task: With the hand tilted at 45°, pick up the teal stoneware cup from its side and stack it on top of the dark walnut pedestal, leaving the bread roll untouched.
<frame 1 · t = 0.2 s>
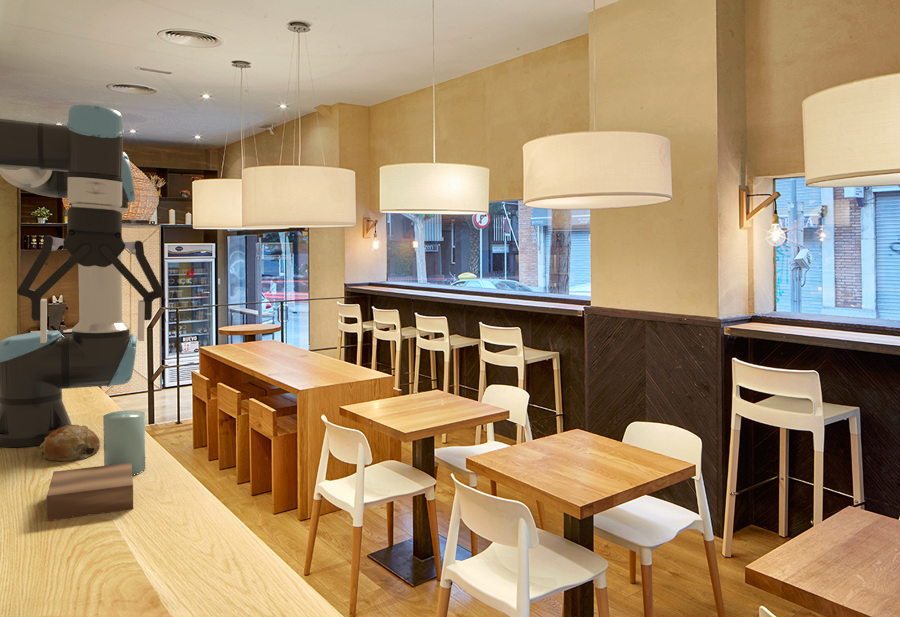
hand: (93, 340, 101), 28 cm above the table, tool pointing down, fingers open, 13 cm apart
cup: (125, 471, 121), on the table
pedestal: (92, 501, 106), on the table
bread roll: (69, 456, 130), on the table
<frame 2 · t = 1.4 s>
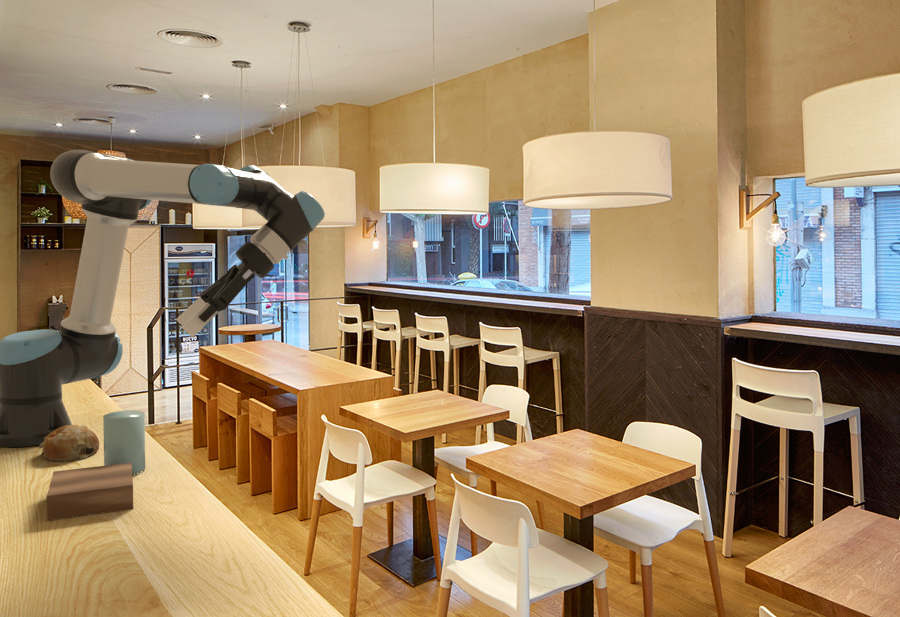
hand: (183, 328, 123), 27 cm above the table, tool tilted 45°, fingers open, 13 cm apart
nothing on the table moved.
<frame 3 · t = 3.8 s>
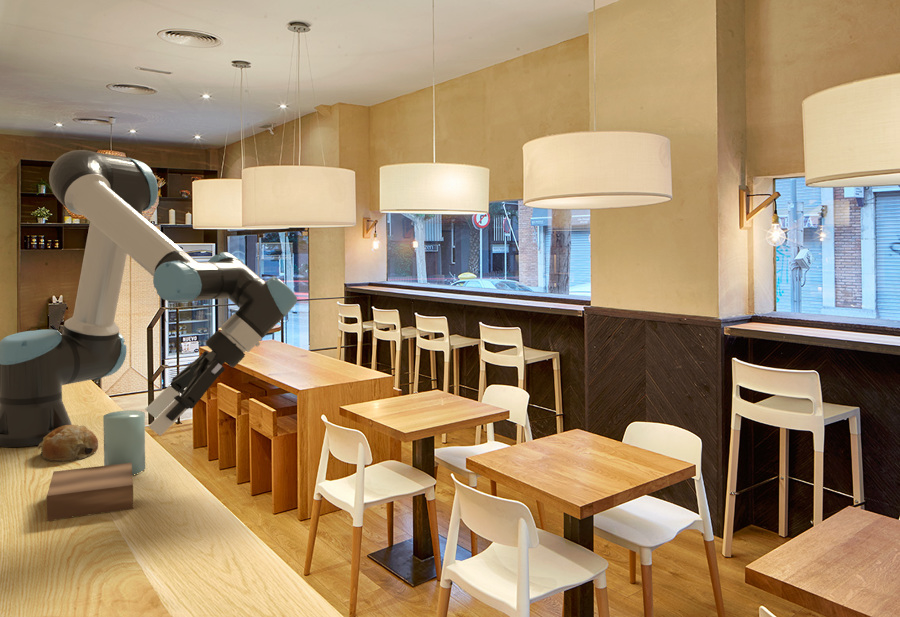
hand: (152, 422, 122), 9 cm above the table, tool tilted 45°, fingers open, 13 cm apart
nothing on the table moved.
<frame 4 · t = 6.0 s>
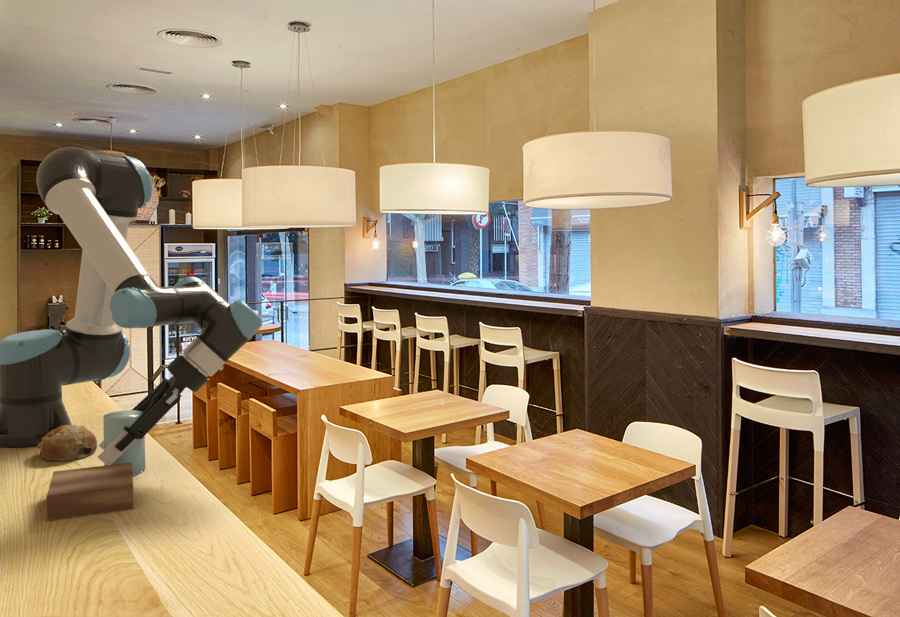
hand: (104, 455, 119), 4 cm above the table, tool tilted 45°, fingers closed on cup, 7 cm apart
cup: (125, 470, 121), on the table, touching gripper
everything else where it was.
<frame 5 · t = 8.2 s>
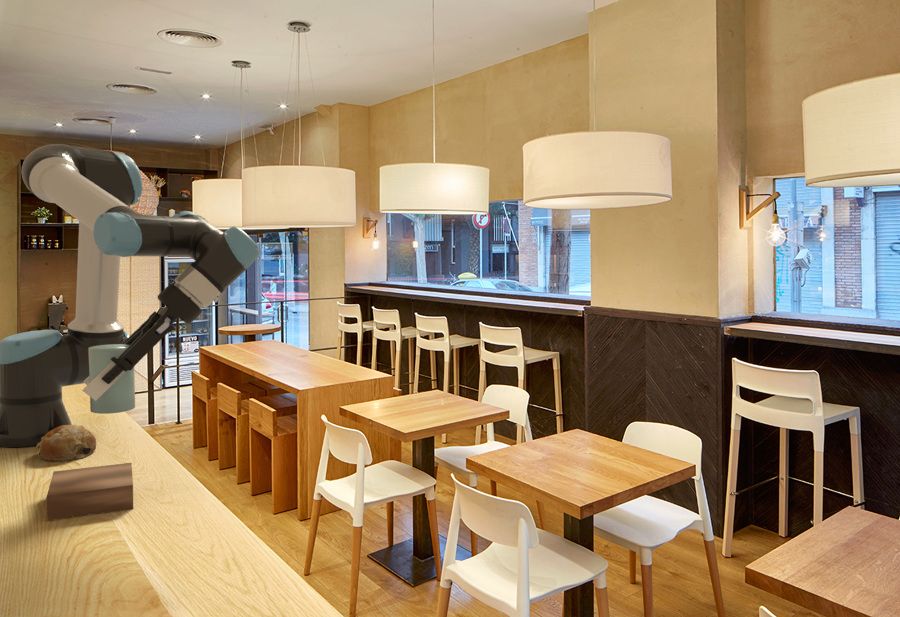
hand: (89, 390, 109), 18 cm above the table, tool tilted 45°, fingers closed on cup, 7 cm apart
cup: (113, 408, 112), point 14 cm above the table, touching gripper
everything else where it was.
when the fingers open (9 cm above the table, at t = 10.6 s): cup drops 1 cm, resting on pedestal.
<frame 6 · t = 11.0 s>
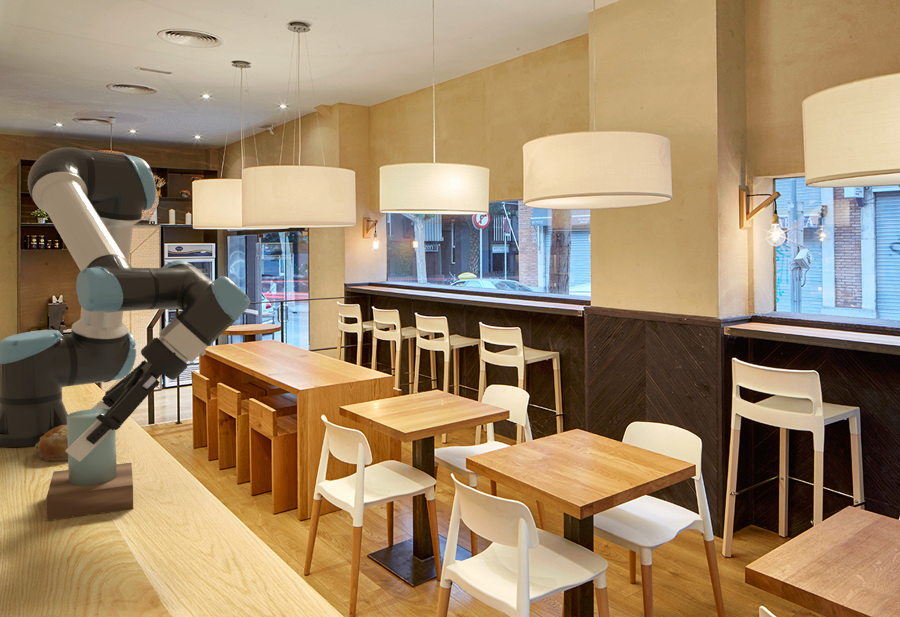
hand: (74, 444, 104), 10 cm above the table, tool tilted 45°, fingers open, 13 cm apart
cup: (93, 478, 106), point 4 cm above the table, touching pedestal
everything else where it was.
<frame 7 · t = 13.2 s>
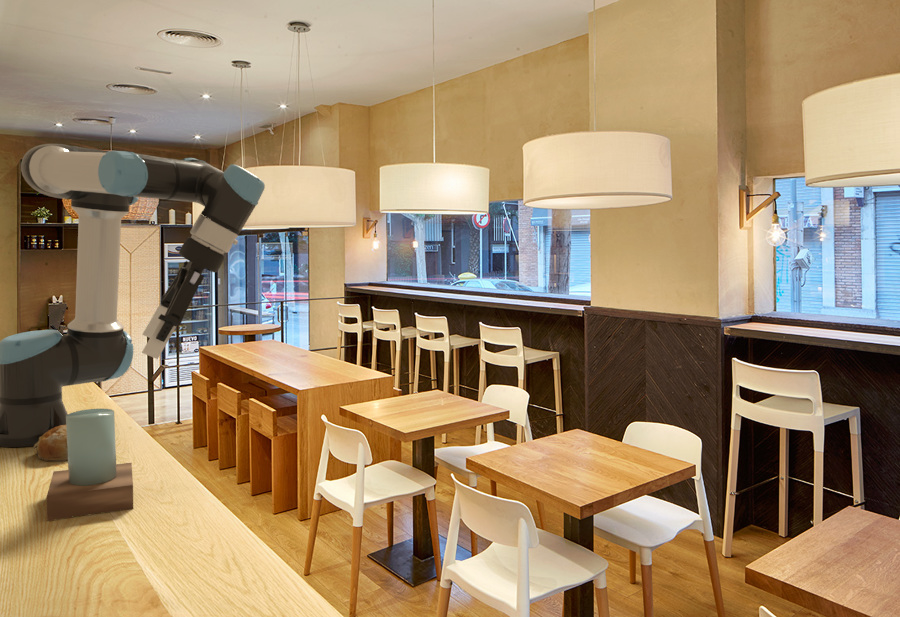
hand: (149, 346, 115), 25 cm above the table, tool tilted 30°, fingers open, 13 cm apart
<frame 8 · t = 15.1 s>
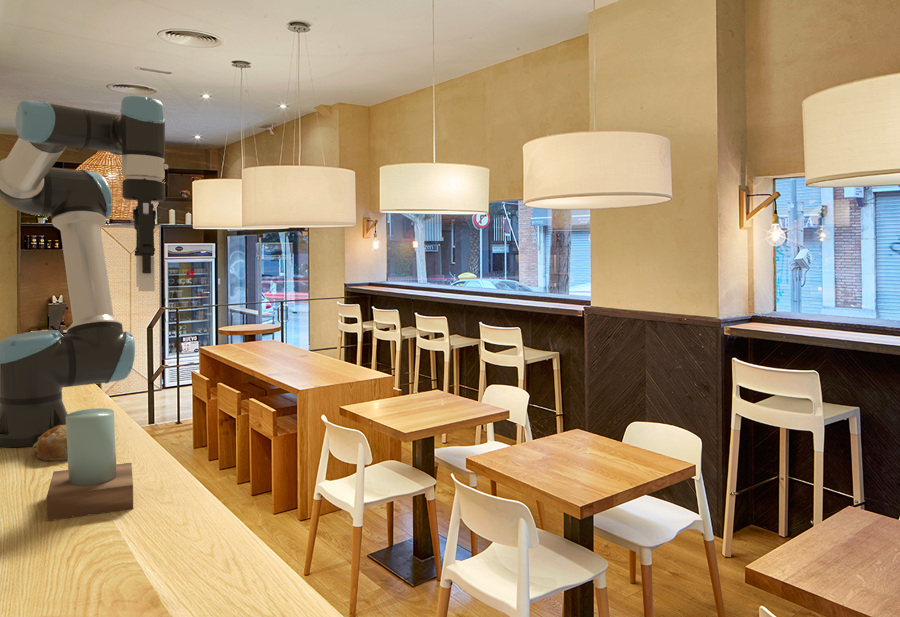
hand: (145, 289, 124), 35 cm above the table, tool pointing down, fingers open, 13 cm apart
at the end: cup inside the target area on the pedestal (0.2 cm from its centre), point 4.1 cm above the pedestal's base; cup tilted 2°; the gripper is holding nothing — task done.
